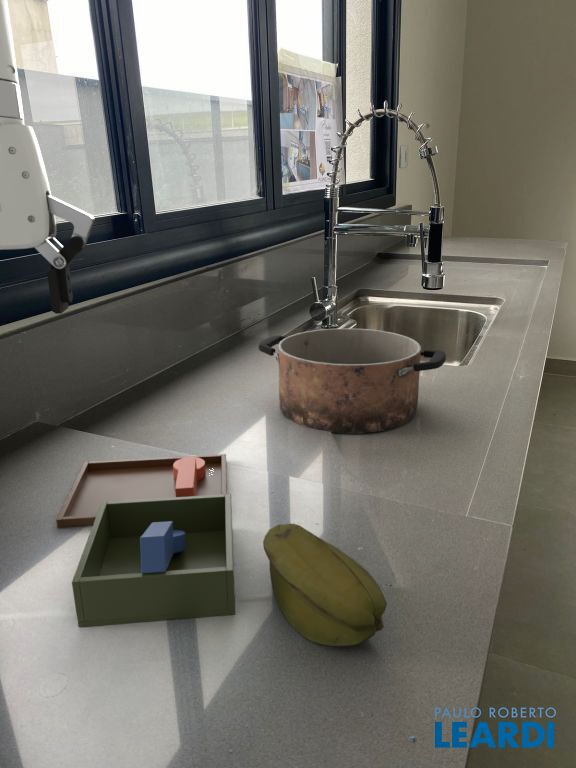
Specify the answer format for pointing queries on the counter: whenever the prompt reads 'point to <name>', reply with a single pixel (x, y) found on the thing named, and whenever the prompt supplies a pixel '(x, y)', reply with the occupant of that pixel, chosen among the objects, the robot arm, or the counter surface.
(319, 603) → the fruit
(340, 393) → the cooking pot
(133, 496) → the tray
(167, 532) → the blue block
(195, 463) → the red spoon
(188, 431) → the counter surface
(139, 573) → the bin
